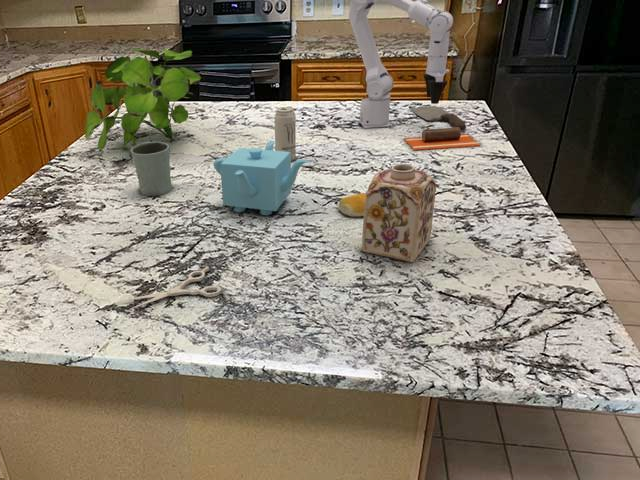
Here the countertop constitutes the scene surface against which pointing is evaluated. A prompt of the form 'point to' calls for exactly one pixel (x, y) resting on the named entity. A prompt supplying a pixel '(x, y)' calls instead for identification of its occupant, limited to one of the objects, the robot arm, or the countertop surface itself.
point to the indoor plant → (141, 96)
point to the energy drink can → (285, 131)
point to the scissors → (180, 291)
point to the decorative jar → (398, 213)
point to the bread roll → (353, 205)
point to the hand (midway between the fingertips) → (432, 100)
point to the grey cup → (152, 167)
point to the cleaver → (439, 116)
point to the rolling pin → (441, 134)
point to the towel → (441, 143)
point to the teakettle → (257, 178)
